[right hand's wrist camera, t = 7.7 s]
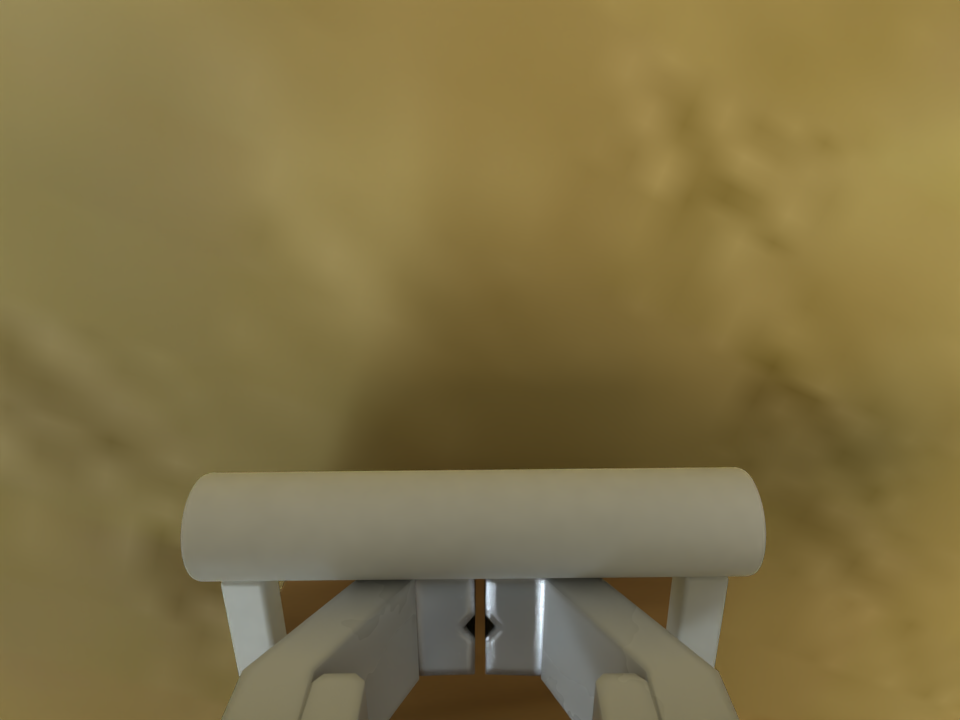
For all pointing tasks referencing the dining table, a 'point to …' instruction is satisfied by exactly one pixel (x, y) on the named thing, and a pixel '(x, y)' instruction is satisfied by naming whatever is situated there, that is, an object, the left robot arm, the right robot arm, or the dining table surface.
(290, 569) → the drawer
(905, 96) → the dining table surface
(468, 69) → the dining table surface
